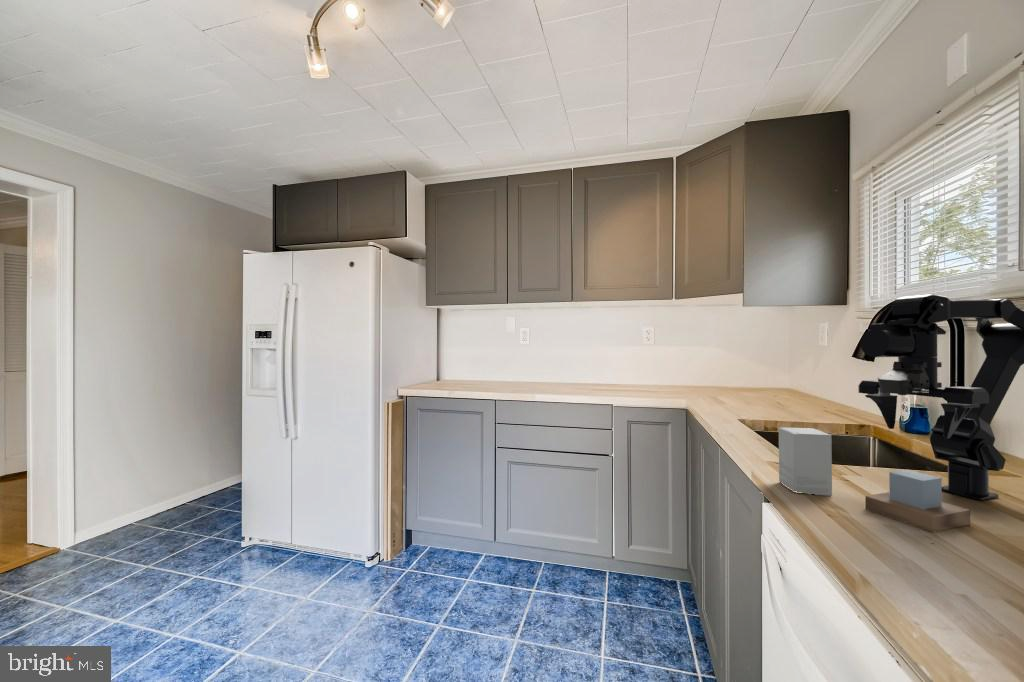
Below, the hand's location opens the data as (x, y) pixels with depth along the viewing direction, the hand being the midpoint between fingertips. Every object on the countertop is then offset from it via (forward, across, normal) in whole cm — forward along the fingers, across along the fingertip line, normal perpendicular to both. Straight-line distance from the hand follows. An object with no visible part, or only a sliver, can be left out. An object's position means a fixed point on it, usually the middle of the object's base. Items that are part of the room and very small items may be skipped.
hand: (917, 433), depth 84 cm
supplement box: (+13, -10, -18) cm, 24 cm away
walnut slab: (+13, +6, -12) cm, 19 cm away
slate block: (+10, +6, -12) cm, 17 cm away
